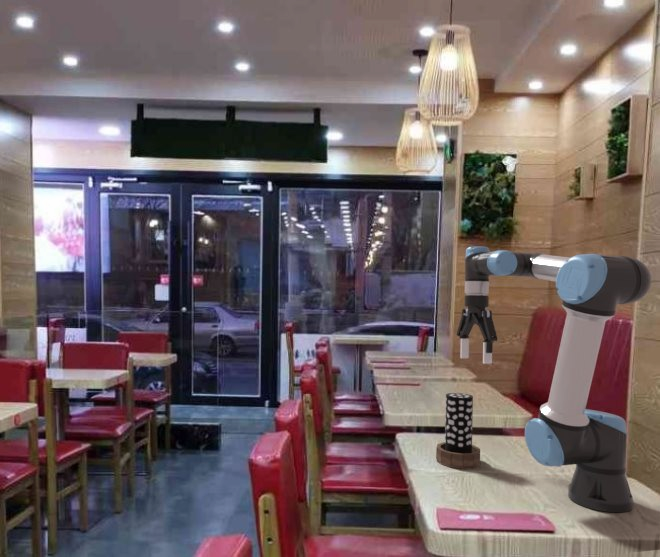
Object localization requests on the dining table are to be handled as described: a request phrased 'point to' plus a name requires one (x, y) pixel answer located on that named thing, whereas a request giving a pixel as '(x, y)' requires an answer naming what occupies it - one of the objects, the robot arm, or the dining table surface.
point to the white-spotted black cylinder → (458, 423)
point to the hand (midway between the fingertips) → (475, 360)
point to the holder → (458, 457)
